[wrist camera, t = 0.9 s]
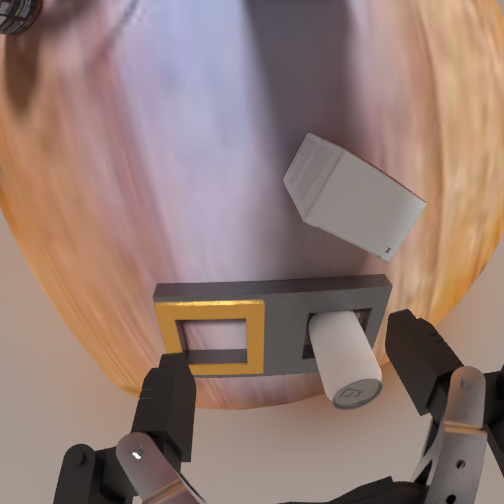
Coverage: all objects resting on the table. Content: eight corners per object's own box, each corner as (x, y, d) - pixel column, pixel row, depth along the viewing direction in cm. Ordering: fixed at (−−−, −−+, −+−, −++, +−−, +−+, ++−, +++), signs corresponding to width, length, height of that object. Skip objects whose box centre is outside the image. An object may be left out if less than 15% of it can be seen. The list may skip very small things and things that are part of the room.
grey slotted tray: (384, 274, 34) (393, 287, 32) (361, 352, 41) (367, 366, 38) (157, 283, 33) (152, 298, 30) (177, 363, 40) (174, 378, 37)
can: (340, 342, 39) (365, 412, 29) (299, 335, 38) (317, 411, 27) (362, 307, 36) (398, 377, 26) (320, 297, 35) (348, 375, 25)
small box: (373, 168, 28) (430, 204, 18) (346, 214, 30) (390, 265, 21) (306, 129, 26) (345, 146, 17) (280, 180, 28) (302, 223, 19)
